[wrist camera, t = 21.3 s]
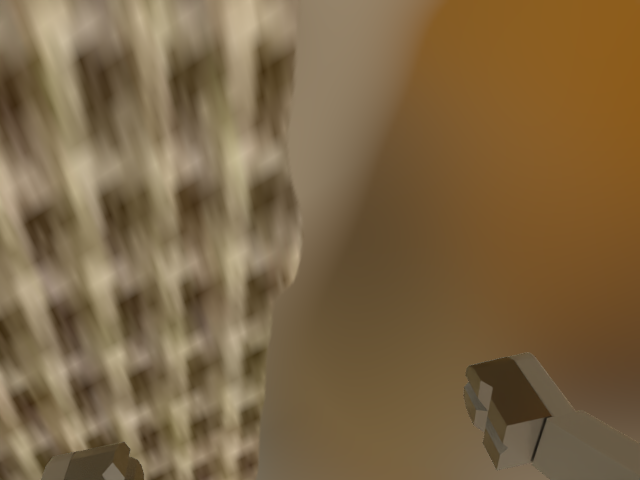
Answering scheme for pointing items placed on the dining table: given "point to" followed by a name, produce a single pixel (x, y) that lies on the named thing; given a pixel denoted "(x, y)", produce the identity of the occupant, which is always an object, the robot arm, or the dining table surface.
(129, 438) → the dining table surface
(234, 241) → the dining table surface
